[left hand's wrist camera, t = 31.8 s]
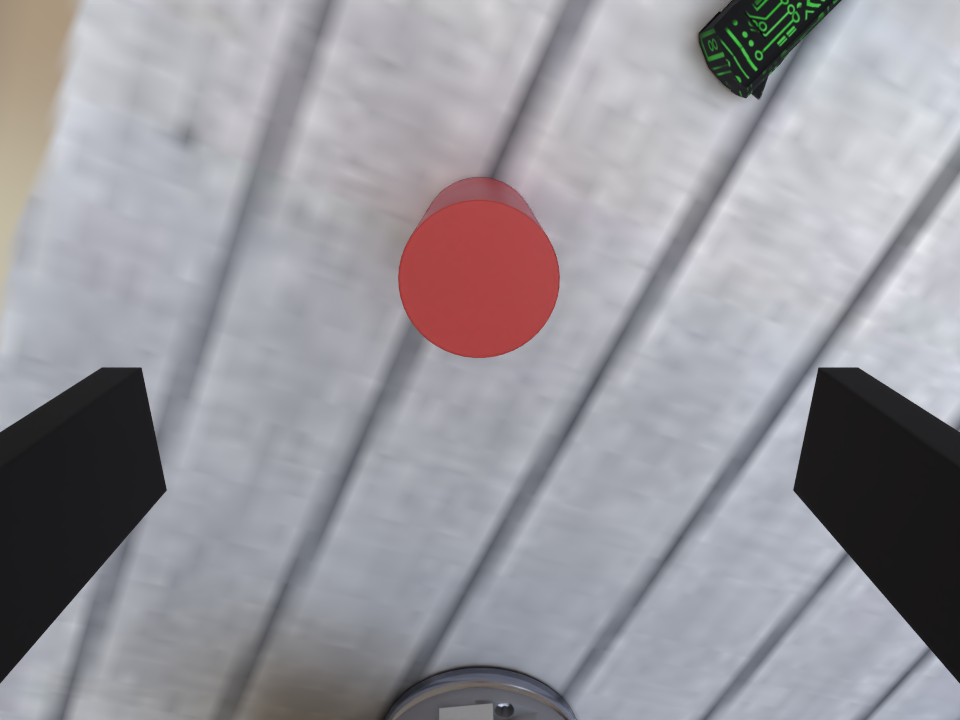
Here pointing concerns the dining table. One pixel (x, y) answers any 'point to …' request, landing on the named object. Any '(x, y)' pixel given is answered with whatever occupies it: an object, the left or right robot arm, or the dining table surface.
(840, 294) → the dining table surface
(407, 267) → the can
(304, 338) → the dining table surface
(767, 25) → the handgun
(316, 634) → the dining table surface
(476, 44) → the dining table surface
